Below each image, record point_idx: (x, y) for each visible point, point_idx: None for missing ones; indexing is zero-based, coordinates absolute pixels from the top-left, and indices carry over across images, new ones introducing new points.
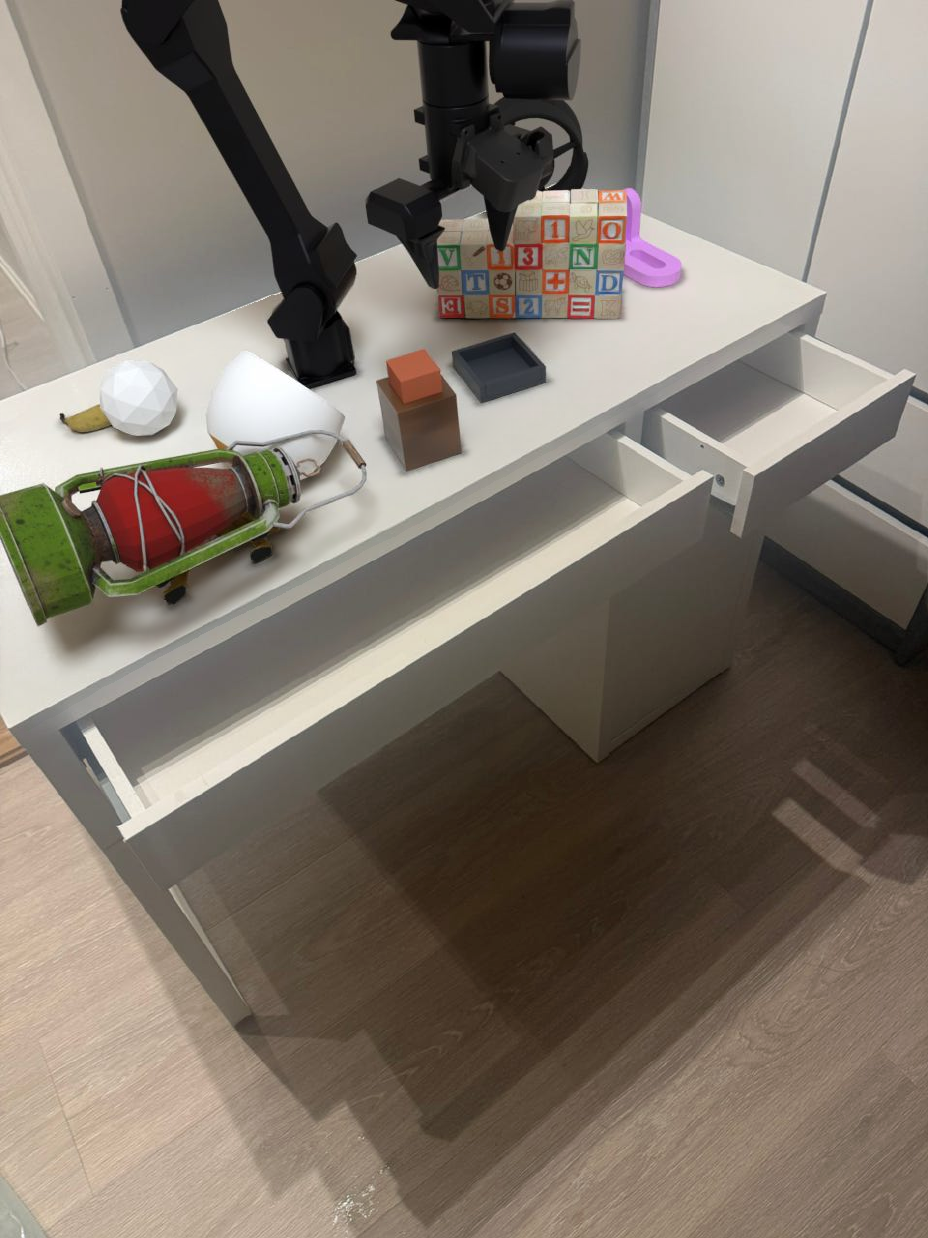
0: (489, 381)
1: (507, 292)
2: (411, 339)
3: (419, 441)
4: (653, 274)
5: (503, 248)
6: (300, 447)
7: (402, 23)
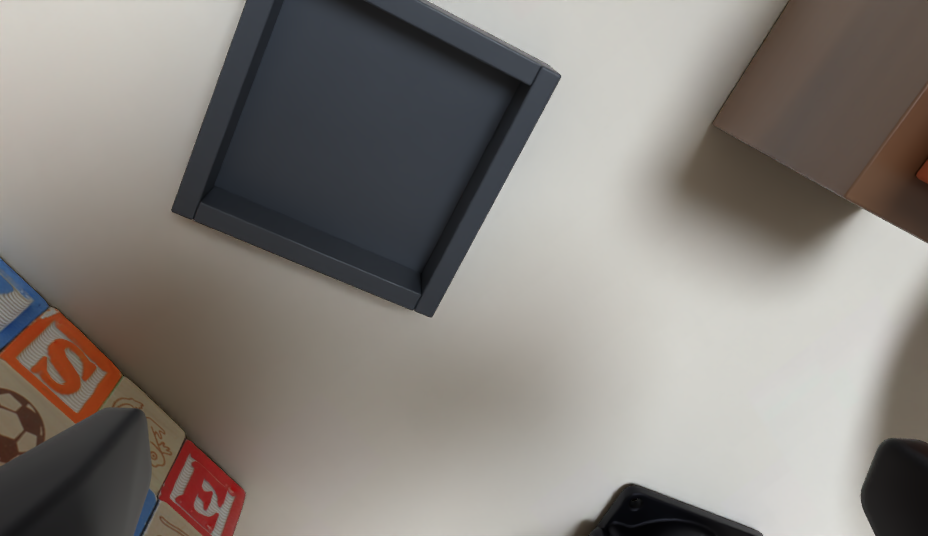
0: (509, 70)
1: (19, 382)
2: (389, 482)
3: None
4: None
5: (122, 415)
6: None
7: None
